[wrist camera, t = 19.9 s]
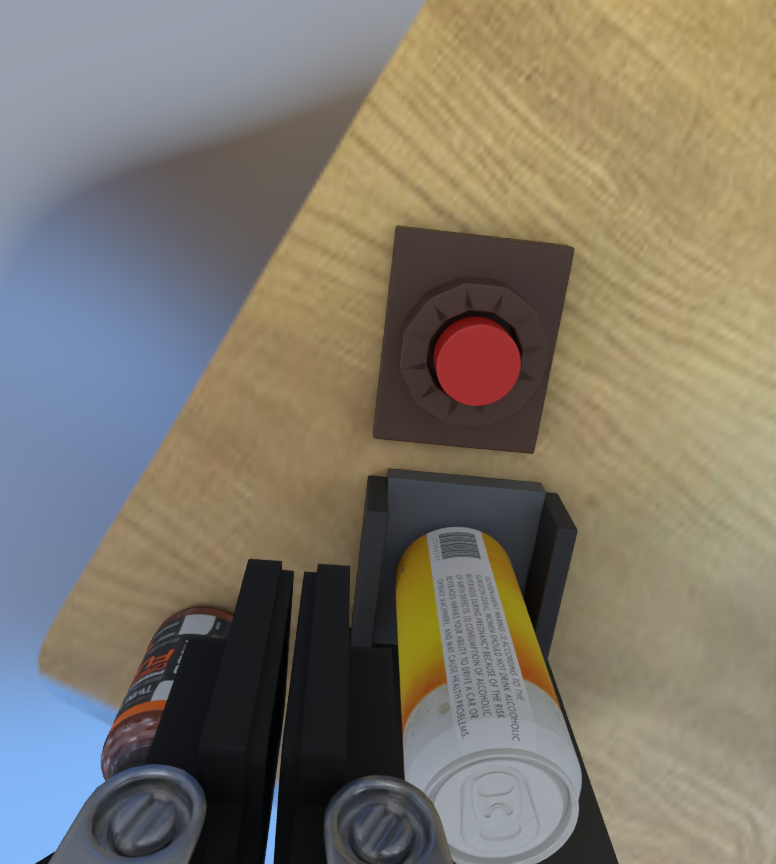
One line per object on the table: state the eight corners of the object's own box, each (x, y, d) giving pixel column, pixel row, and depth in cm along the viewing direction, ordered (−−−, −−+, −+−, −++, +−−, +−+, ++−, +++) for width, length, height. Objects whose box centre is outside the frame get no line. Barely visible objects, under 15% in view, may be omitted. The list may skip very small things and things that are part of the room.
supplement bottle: (178, 585, 39) (105, 744, 28) (277, 627, 40) (243, 796, 29) (138, 664, 41) (55, 842, 30) (233, 702, 42) (186, 886, 31)
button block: (372, 430, 36) (372, 453, 33) (395, 225, 32) (397, 231, 29) (528, 445, 36) (542, 469, 33) (568, 244, 33) (586, 253, 30)
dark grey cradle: (324, 710, 42) (303, 959, 29) (349, 464, 36) (336, 635, 23) (523, 725, 43) (589, 974, 30) (578, 486, 37) (689, 664, 24)
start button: (428, 390, 32) (431, 402, 31) (439, 312, 31) (442, 320, 29) (506, 397, 33) (513, 410, 31) (520, 320, 31) (528, 329, 30)
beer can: (403, 625, 39) (420, 891, 25) (386, 528, 36) (394, 758, 22) (514, 610, 38) (595, 869, 24) (503, 511, 36) (586, 732, 22)
